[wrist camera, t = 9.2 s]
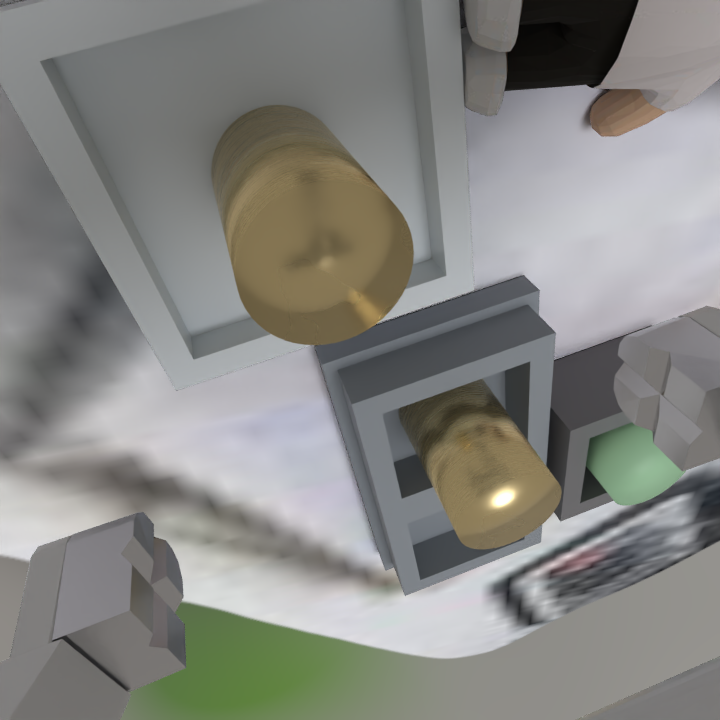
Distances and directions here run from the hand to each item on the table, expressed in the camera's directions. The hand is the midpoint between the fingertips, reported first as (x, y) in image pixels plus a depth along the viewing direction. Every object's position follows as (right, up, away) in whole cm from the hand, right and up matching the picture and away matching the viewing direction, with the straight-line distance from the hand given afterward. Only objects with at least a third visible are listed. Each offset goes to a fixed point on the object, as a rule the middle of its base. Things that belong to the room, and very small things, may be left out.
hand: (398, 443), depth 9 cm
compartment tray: (+3, -3, +18) cm, 19 cm away
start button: (+11, -1, +19) cm, 22 cm away
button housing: (+11, -1, +20) cm, 22 cm away
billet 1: (-3, +7, +8) cm, 11 cm away
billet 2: (+3, 0, +15) cm, 15 cm away
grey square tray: (-3, +7, +8) cm, 11 cm away
